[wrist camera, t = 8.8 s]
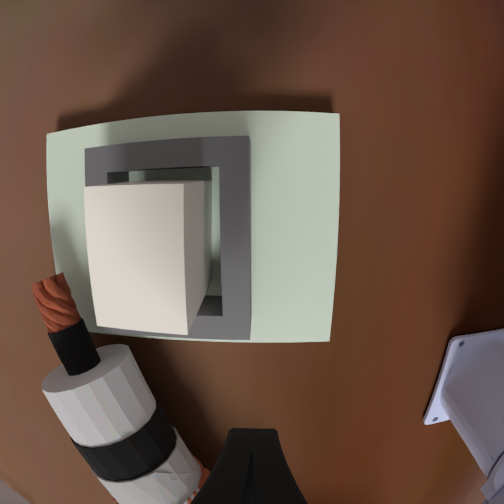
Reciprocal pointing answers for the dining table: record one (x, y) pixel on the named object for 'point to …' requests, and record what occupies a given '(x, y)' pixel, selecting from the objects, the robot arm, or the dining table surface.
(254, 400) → the dining table surface
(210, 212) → the plug
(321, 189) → the board
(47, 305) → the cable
